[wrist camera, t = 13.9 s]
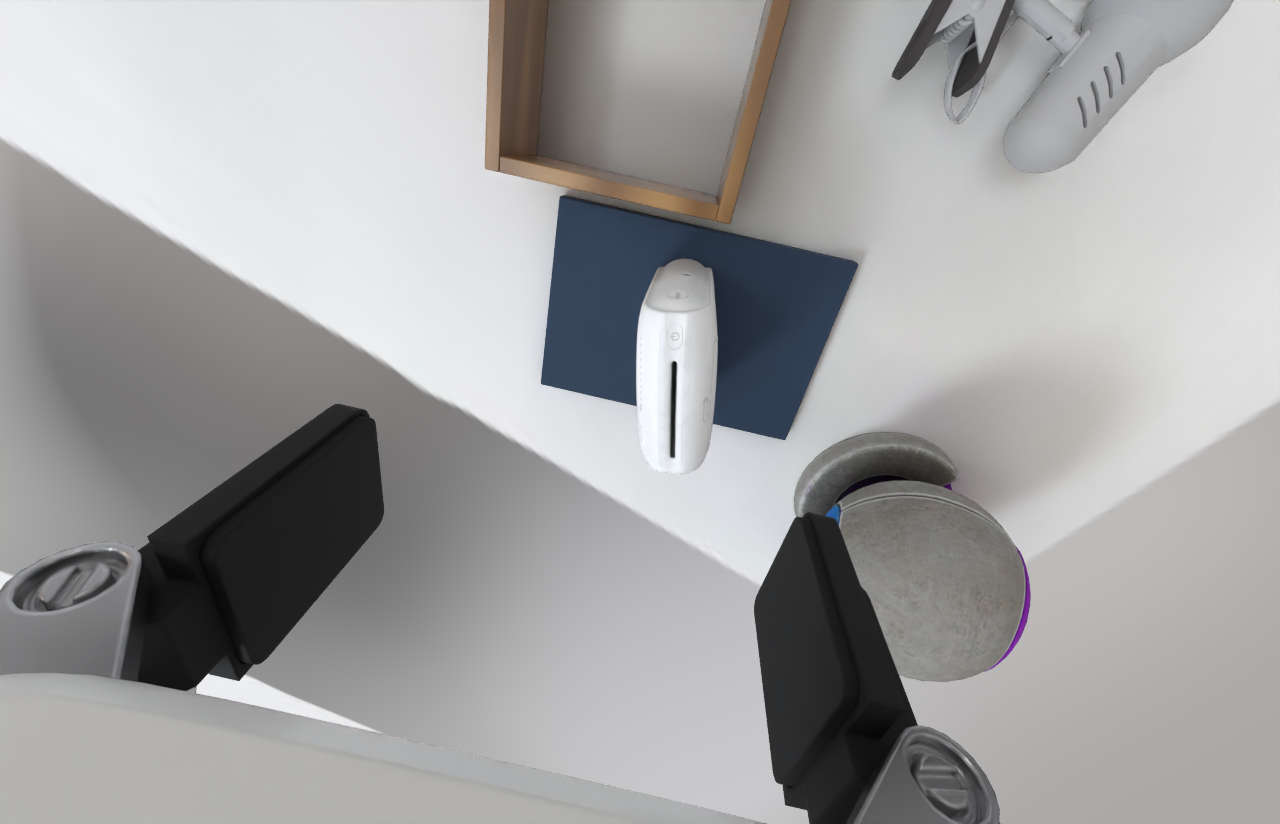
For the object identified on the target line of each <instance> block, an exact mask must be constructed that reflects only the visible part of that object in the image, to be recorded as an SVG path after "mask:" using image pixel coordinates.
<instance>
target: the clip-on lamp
mask: <svg viewBox="0 0 1280 824" xmlns="http://www.w3.org/2000/svg"><path fill="white" fill-rule="evenodd" d="M1233 1H1234V0H1092V2H1091V4H1090V6H1089V8H1088V10H1087V12H1086V13H1085V16H1084V19H1083V23H1082V32H1081V34H1080V35H1079V34H1078V33H1077V32H1076V31H1074V29H1075V27H1076V25H1075V24H1074V23H1073V22H1072V21H1070V20H1069V19H1068V18H1067V17H1066V16H1065V15H1064V14H1062V13H1061V12H1060V11H1059V10H1058V9H1057V8H1055V7H1054V6H1053V5H1052V4H1051V3H1050V2H1049V1H1047V0H932V2H931V4H930V6H929V7H928V9H927V11H926V13H925V15H924V16H923V18H922V20H921V22H920V24H919V25H918V27H917V29H916V31H915V33H914V34H913V36H912V38H911V40H910V42H909V43H908V45H907V47H906V49H905V51H904V52H903V54H902V56H901V58H900V60H899V61H898V63H897V65H896V67H895V69H894V71H893V73H892V77H893V78H895V79H897V80H900V79H901V78H902V77H903V76H904V75H905V74H906V73H908V72H909V71H910V70H911V69H912V68H913V67H914V66H915V64H916V63H917V62H918V60H919V59H920V57H921V56H922V54H923V52H924V51H925V49H926V48H927V47H929V46H931V45H932V44H934V43H936V42H937V41H939V40H941V41H942V42H943V43H946V49H947V56H948V62H949V69H950V72H949V75H948V78H947V82H946V85H945V91H944V105H945V110H946V113H947V116H948V117H949V119H950V120H951V121H952V122H954V123H955V124H960V123H962V122H963V121H964V120H965V119H966V118H967V116H968V115H969V113H970V112H971V111H972V109H973V107H974V105H975V104H976V102H977V100H978V98H979V95H980V93H981V91H982V88H983V85H984V81H985V76H986V70H987V68H988V67H989V64H990V62H991V59H992V57H993V54H994V52H995V49H996V47H997V44H998V42H999V40H1000V39H1001V38H1002V36H1003V35H1004V34H1005V32H1006V31H1007V30H1008V29H1009V27H1010V26H1011V25H1012V24H1013V23H1014V22H1015V21H1016V20H1017V18H1018V17H1019V16H1020V17H1021V18H1022V19H1023V20H1025V21H1026V22H1027V23H1028V24H1029V25H1030V26H1032V27H1033V28H1034V29H1035V30H1036V31H1037V32H1039V33H1040V34H1041V35H1042V36H1043V37H1044V38H1045V39H1046V40H1048V41H1049V42H1050V43H1052V44H1053V45H1054V47H1055V48H1057V49H1058V50H1059V51H1060V52H1061V53H1062V54H1061V55H1060V56H1059V58H1058V59H1057V60H1056V61H1055V63H1054V64H1053V65H1052V66H1051V68H1050V69H1049V70H1048V71H1047V73H1049V75H1048V76H1047V77H1046V78H1045V80H1044V81H1043V82H1042V83H1041V85H1040V86H1039V87H1038V88H1037V90H1036V91H1035V92H1034V93H1033V95H1032V96H1031V97H1030V98H1029V100H1028V101H1027V102H1026V103H1025V105H1024V106H1023V107H1022V108H1021V110H1020V111H1019V112H1018V113H1017V115H1016V116H1015V117H1014V118H1013V120H1012V121H1011V122H1010V123H1009V125H1008V127H1007V130H1006V132H1005V135H1004V138H1003V149H1004V154H1005V156H1006V158H1007V160H1008V161H1009V163H1010V164H1011V165H1012V166H1014V167H1015V168H1017V169H1019V170H1021V171H1024V172H1028V173H1043V172H1049V171H1053V170H1056V169H1058V168H1060V167H1062V166H1064V165H1066V164H1068V163H1070V162H1072V161H1073V160H1075V159H1076V157H1077V156H1078V155H1079V154H1080V153H1081V152H1082V151H1083V150H1084V148H1085V147H1086V146H1087V145H1088V144H1089V143H1090V142H1091V141H1092V140H1093V138H1094V137H1095V136H1096V135H1097V134H1098V133H1099V132H1100V131H1101V129H1102V128H1103V127H1104V126H1105V125H1106V124H1107V123H1108V122H1109V121H1110V119H1111V118H1112V117H1113V116H1114V115H1115V114H1116V113H1117V112H1118V110H1119V109H1120V108H1121V107H1122V106H1123V105H1124V104H1125V103H1126V102H1127V100H1128V99H1129V98H1130V97H1131V96H1132V95H1133V94H1134V93H1135V91H1136V90H1137V89H1138V88H1139V87H1140V86H1141V85H1142V84H1143V83H1144V81H1145V80H1146V79H1147V78H1148V77H1149V76H1150V75H1151V74H1152V72H1153V71H1154V70H1155V69H1156V68H1157V67H1158V66H1161V65H1163V64H1165V63H1168V62H1169V61H1171V60H1173V59H1174V58H1176V57H1178V56H1179V55H1181V54H1182V53H1184V52H1186V51H1187V50H1189V49H1190V48H1192V47H1193V46H1195V45H1196V44H1197V43H1199V42H1200V41H1201V40H1202V39H1203V38H1204V37H1205V36H1206V35H1207V34H1208V33H1209V32H1210V31H1211V30H1212V29H1213V28H1214V27H1215V25H1216V24H1217V23H1218V22H1219V21H1220V20H1221V18H1222V17H1223V16H1224V15H1225V13H1226V12H1227V11H1228V9H1229V8H1230V6H1231V4H1232V3H1233ZM1011 9H1012V10H1013V11H1014V13H1013V15H1012V16H1011V17H1010V18H1009V19H1008V17H1009V14H1010V12H1011ZM1007 19H1008V20H1007ZM973 87H974V89H973V92H972V95H971V97H970V99H969V101H968V103H967V105H966V107H965V108H964V110H963V111H962V113H961V114H960V115H959V116H958V117H956V118H955V117H954V115H953V111H952V103H951V97H952V96H953V97H959V96H961V95H962V94H964V93H965V92H967V91H968V90H970V89H971V88H973Z"/></svg>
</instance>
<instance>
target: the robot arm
mask: <svg viewBox="0 0 1280 824" xmlns="http://www.w3.org/2000/svg"><path fill="white" fill-rule="evenodd" d="M383 514H384V504H383V494H382V483H381V473H380V463H379V453H378V442H377V432H376V424H375V421H374V419H372V418H370V417H369V414H368V412H367V411H366V410H364V409H359V408H355V407H350V406H346V405H342V404H335V405H333V406H331V407H330V408H328V409H327V410H325V411H324V412H323V413H321V414H320V415H318V416H317V417H316V418H314V419H313V420H311V421H310V422H308V423H307V424H306V425H304V426H303V427H301V428H300V429H299V430H297V431H296V432H294V433H293V434H291V435H290V436H289V437H287V438H286V439H284V440H283V441H282V442H280V443H279V444H277V445H276V446H274V447H273V448H272V449H270V450H269V451H267V452H266V453H265V454H263V455H262V456H261V457H259V458H258V459H256V460H255V461H253V462H252V463H250V464H249V465H248V466H246V467H245V468H243V469H242V470H241V471H239V472H238V473H236V474H235V475H233V476H232V477H231V478H229V479H228V480H227V481H225V482H224V483H222V484H221V485H219V486H218V487H217V488H215V489H214V490H212V491H211V492H210V493H208V494H207V495H205V496H204V497H202V498H201V499H200V500H198V501H197V502H195V503H194V504H193V505H191V506H190V507H188V508H187V509H185V510H184V511H183V512H181V513H180V514H178V515H177V516H176V517H174V518H173V519H171V520H170V521H169V522H167V523H166V524H164V525H163V526H161V527H160V528H159V529H157V530H156V531H155V532H153V533H152V534H150V535H149V536H147V537H148V539H149V543H148V544H147V545H145V546H144V547H142V548H141V549H140V550H138V551H137V550H136V549H135V548H134V547H133V546H130V545H127V544H124V543H120V542H98V543H91V544H84V545H80V546H76V547H73V548H69V549H65V550H62V551H59V552H57V553H54V554H52V555H50V556H47V557H45V558H42V559H40V560H38V561H37V562H35V563H33V564H31V565H30V566H28V567H26V568H24V569H23V570H21V571H20V572H18V573H17V574H16V575H15V576H14V577H12V578H11V579H10V580H9V581H7V582H6V583H5V584H4V586H3V587H2V589H1V590H0V824H766V823H762V822H758V821H753V820H750V819H746V818H742V817H738V816H734V815H730V814H726V813H722V812H718V811H714V810H710V809H706V808H702V807H698V806H694V805H689V804H686V803H681V802H677V801H673V800H668V799H663V798H660V797H655V796H651V795H647V794H643V793H638V792H634V791H630V790H625V789H621V788H617V787H613V786H608V785H604V784H599V783H595V782H591V781H587V780H582V779H578V778H574V777H569V776H565V775H561V774H557V773H552V772H547V771H543V770H539V769H535V768H530V767H526V766H522V765H517V764H513V763H508V762H504V761H500V760H495V759H491V758H486V757H482V756H478V755H473V754H468V753H464V752H460V751H455V750H451V749H446V748H442V747H438V746H434V745H429V744H425V743H420V742H415V741H411V740H407V739H403V738H398V737H394V736H389V735H385V734H381V733H376V732H371V731H367V730H362V729H358V728H353V727H349V726H344V725H340V724H335V723H331V722H326V721H322V720H317V719H313V718H308V717H304V716H299V715H295V714H290V713H286V712H281V711H277V710H272V709H268V708H263V707H259V706H254V705H249V704H245V703H240V702H236V701H231V700H226V699H221V698H216V697H211V696H206V695H201V694H196V686H197V685H198V684H199V683H200V682H201V681H202V680H203V678H204V677H205V676H206V675H207V674H208V673H209V674H210V675H215V676H219V677H223V678H228V679H232V680H237V681H240V679H241V678H242V677H243V676H244V675H245V674H246V672H247V671H248V670H249V669H250V668H251V667H252V665H253V664H260V663H262V662H263V661H264V660H266V659H267V658H268V657H269V655H270V654H271V653H272V652H273V651H274V650H275V648H276V647H277V646H278V645H279V644H280V642H281V641H282V640H283V639H284V638H285V636H286V635H287V634H288V633H289V632H290V631H291V629H292V628H293V627H294V626H295V625H296V623H297V622H298V621H299V620H300V619H301V618H302V616H303V615H304V614H305V613H306V612H307V610H308V609H309V608H310V607H311V606H312V604H313V603H314V602H315V601H316V600H317V599H318V597H319V596H320V595H321V594H322V593H323V591H324V590H325V589H326V588H327V587H328V586H329V584H330V583H331V582H332V581H333V579H334V578H335V577H336V576H337V575H338V574H339V572H340V571H341V570H342V569H343V568H344V567H345V565H346V564H347V563H348V562H349V561H350V559H351V558H352V557H353V556H354V555H355V553H356V552H357V551H358V550H359V549H360V548H361V546H362V545H363V544H364V543H365V541H366V540H367V539H368V538H369V537H370V536H371V534H372V533H373V532H374V531H375V530H376V529H377V527H378V526H379V524H380V523H381V521H382V518H383ZM754 615H755V624H756V631H757V641H758V649H759V657H760V666H761V675H762V683H763V691H764V700H765V709H766V717H767V726H768V734H769V743H770V751H771V759H772V768H773V774H774V778H775V781H776V782H777V783H779V784H783V791H784V798H785V805H787V806H792V807H796V808H800V809H804V810H807V811H808V817H809V823H810V824H1000V823H999V814H1000V813H999V811H1000V809H999V805H998V802H997V799H996V795H995V792H994V790H993V788H992V786H991V784H990V782H989V780H988V778H987V776H986V774H985V773H984V772H983V770H982V769H981V768H980V767H979V765H978V764H977V763H976V761H975V760H974V758H973V757H972V756H971V755H970V754H969V753H968V752H966V751H965V750H964V749H963V748H962V747H961V746H960V745H959V744H958V743H957V742H955V741H953V740H952V739H951V738H950V737H948V736H947V735H945V734H944V733H941V732H939V731H937V730H934V729H932V728H930V727H924V726H918V725H917V722H916V719H915V717H914V714H913V712H912V709H911V706H910V703H909V701H908V698H907V695H906V693H905V690H904V688H903V685H902V682H901V679H900V677H899V674H898V672H897V669H896V666H895V664H894V661H893V658H892V656H891V653H890V650H889V648H888V645H887V642H886V640H885V637H884V634H883V632H882V629H881V626H880V624H879V621H878V618H877V616H876V613H875V611H874V608H873V605H872V603H871V600H870V598H869V596H868V594H867V592H866V591H865V590H864V589H863V588H862V587H861V585H860V582H859V580H858V577H857V574H856V571H855V569H854V566H853V563H852V560H851V558H850V555H849V552H848V550H847V547H846V544H845V541H844V539H843V536H842V533H841V531H840V528H839V525H838V523H837V521H836V519H835V518H833V517H828V516H824V515H820V514H815V513H811V512H807V513H806V514H804V516H803V517H796V518H795V519H794V521H793V523H792V525H791V527H790V529H789V531H788V533H787V535H786V537H785V539H784V541H783V543H782V545H781V547H780V549H779V551H778V553H777V555H776V557H775V559H774V561H773V563H772V565H771V567H770V570H769V572H768V574H767V576H766V578H765V580H764V582H763V584H762V586H761V588H760V590H759V592H758V594H757V596H756V600H755V605H754Z"/></svg>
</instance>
